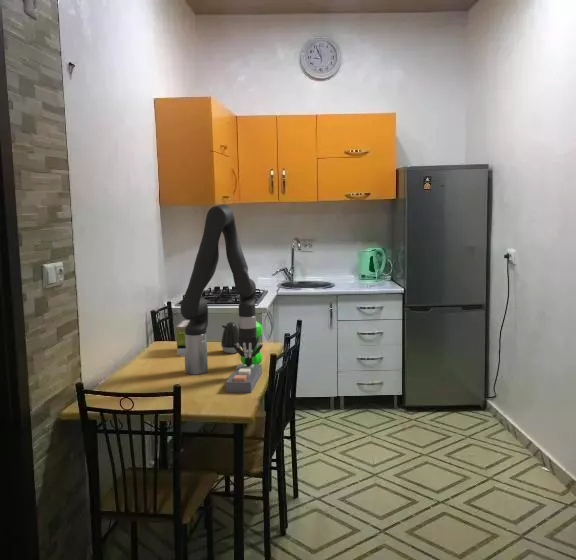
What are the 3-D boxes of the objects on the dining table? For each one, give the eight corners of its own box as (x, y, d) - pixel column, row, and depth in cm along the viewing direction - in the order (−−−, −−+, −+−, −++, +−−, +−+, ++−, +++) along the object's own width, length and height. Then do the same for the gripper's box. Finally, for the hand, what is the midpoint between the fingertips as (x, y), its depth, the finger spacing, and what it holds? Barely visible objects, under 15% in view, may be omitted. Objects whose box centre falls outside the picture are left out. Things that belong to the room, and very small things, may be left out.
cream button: (238, 379, 247) (238, 371, 246) (240, 375, 251) (240, 368, 251) (249, 379, 246) (248, 371, 246) (250, 376, 250) (250, 368, 250)
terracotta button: (233, 385, 238) (233, 378, 237) (236, 382, 242) (235, 374, 242) (244, 386, 237) (244, 378, 237) (246, 382, 242) (246, 374, 241)
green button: (242, 374, 256) (242, 367, 255) (244, 371, 260) (244, 364, 259) (253, 374, 255) (252, 367, 255) (254, 371, 259) (254, 364, 259)
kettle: (216, 352, 298) (215, 322, 296) (233, 348, 305) (232, 319, 303) (229, 356, 291) (228, 325, 289) (246, 352, 298) (245, 321, 296)
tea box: (183, 348, 308) (182, 319, 306) (203, 348, 308) (201, 319, 306) (176, 355, 293) (175, 326, 291) (197, 355, 293) (196, 325, 291)
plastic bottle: (238, 369, 268) (236, 313, 265) (243, 362, 278) (241, 309, 275) (260, 369, 267) (259, 313, 264) (264, 363, 277) (263, 309, 274)
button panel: (226, 392, 237) (225, 382, 236) (239, 373, 262) (239, 364, 262) (251, 392, 235) (250, 382, 235) (262, 373, 261) (261, 364, 260)
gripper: (264, 324, 257) (265, 363, 260) (234, 324, 259) (235, 363, 261) (261, 328, 250) (262, 368, 252) (230, 328, 252) (231, 368, 254)
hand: (248, 366), depth 257 cm, fingers closed
